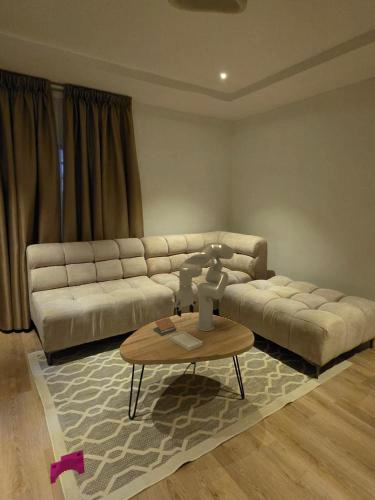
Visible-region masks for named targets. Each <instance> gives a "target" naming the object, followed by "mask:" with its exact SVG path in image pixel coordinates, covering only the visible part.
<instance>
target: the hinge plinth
mask: <svg viewBox="0 0 375 500" xmlns="http://www.w3.org/2000/svg"><path fill="white" fill-rule="evenodd" d="M153 331H154V332H155V333H157V334H158V335H159V336H161V337H163V336H165V335H168V334H171V333H174V332H176V331H177V326H175V327H174V328H171V329H168V330H165V331H162V332H161V331H160V329H159V328H158V326H157V327H154V328H153Z"/></svg>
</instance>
